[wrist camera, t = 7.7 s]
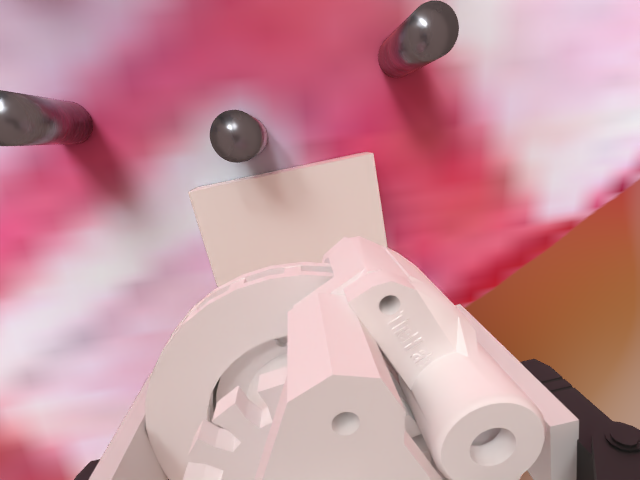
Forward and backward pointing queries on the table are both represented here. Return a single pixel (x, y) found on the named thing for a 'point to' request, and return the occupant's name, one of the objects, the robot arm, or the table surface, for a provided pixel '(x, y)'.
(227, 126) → the standoff posts
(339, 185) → the parts stand
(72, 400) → the table surface
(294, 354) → the mechanical part
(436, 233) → the table surface
